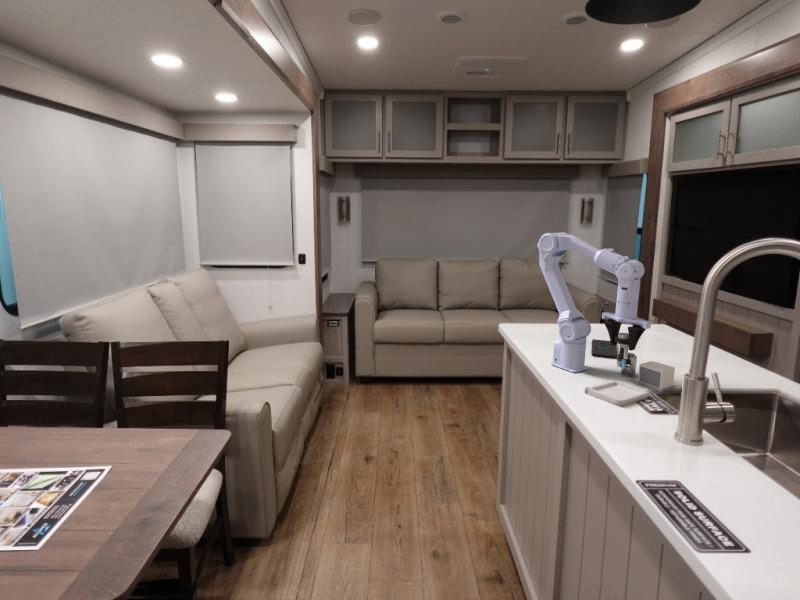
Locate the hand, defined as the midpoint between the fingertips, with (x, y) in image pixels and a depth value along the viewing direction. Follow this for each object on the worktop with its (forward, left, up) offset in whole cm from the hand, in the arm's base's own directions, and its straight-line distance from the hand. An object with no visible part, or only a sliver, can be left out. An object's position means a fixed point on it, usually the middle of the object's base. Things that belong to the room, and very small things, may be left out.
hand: (622, 347), depth 145 cm
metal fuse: (-2, +7, -10) cm, 13 cm away
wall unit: (+8, +5, -10) cm, 14 cm away
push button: (+1, 0, -6) cm, 6 cm away
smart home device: (-23, +23, -11) cm, 34 cm away
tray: (+7, -11, -10) cm, 17 cm away
